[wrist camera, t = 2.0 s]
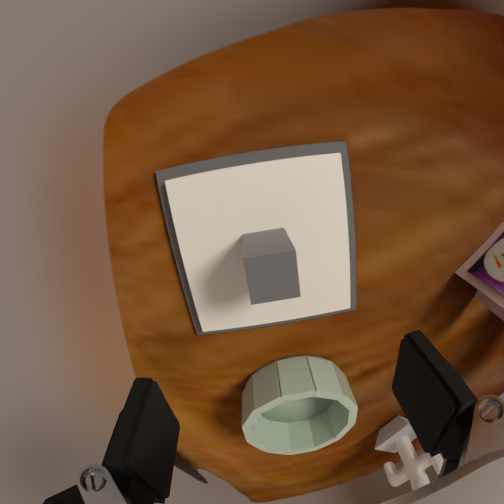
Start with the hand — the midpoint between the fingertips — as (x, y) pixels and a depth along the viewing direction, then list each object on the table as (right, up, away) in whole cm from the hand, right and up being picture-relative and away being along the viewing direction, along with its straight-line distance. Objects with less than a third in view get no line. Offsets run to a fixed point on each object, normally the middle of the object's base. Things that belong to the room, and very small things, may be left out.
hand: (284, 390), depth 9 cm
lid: (0, +6, +16) cm, 17 cm away
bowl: (+4, -13, +23) cm, 27 cm away
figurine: (+24, -25, +28) cm, 44 cm away
